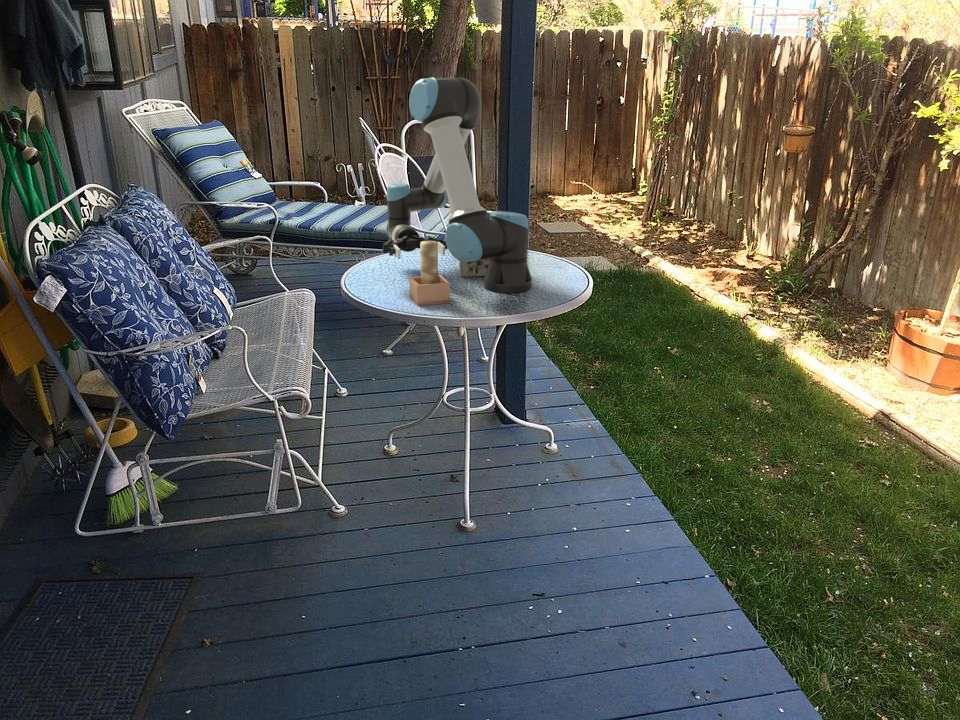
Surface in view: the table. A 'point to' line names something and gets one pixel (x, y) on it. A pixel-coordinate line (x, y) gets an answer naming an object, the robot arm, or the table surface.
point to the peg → (429, 262)
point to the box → (429, 291)
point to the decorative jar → (474, 268)
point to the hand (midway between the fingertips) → (421, 252)
